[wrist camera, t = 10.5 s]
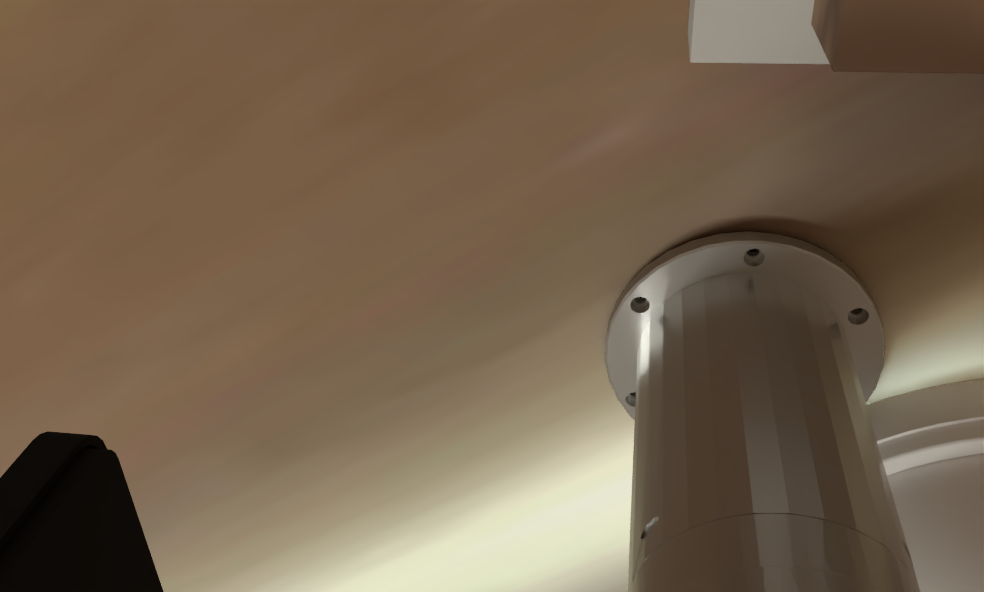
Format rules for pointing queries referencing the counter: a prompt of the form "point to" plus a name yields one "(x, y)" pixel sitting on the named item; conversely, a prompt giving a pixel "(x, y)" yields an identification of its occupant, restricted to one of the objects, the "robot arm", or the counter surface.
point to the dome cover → (937, 480)
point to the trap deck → (753, 32)
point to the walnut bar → (901, 35)
